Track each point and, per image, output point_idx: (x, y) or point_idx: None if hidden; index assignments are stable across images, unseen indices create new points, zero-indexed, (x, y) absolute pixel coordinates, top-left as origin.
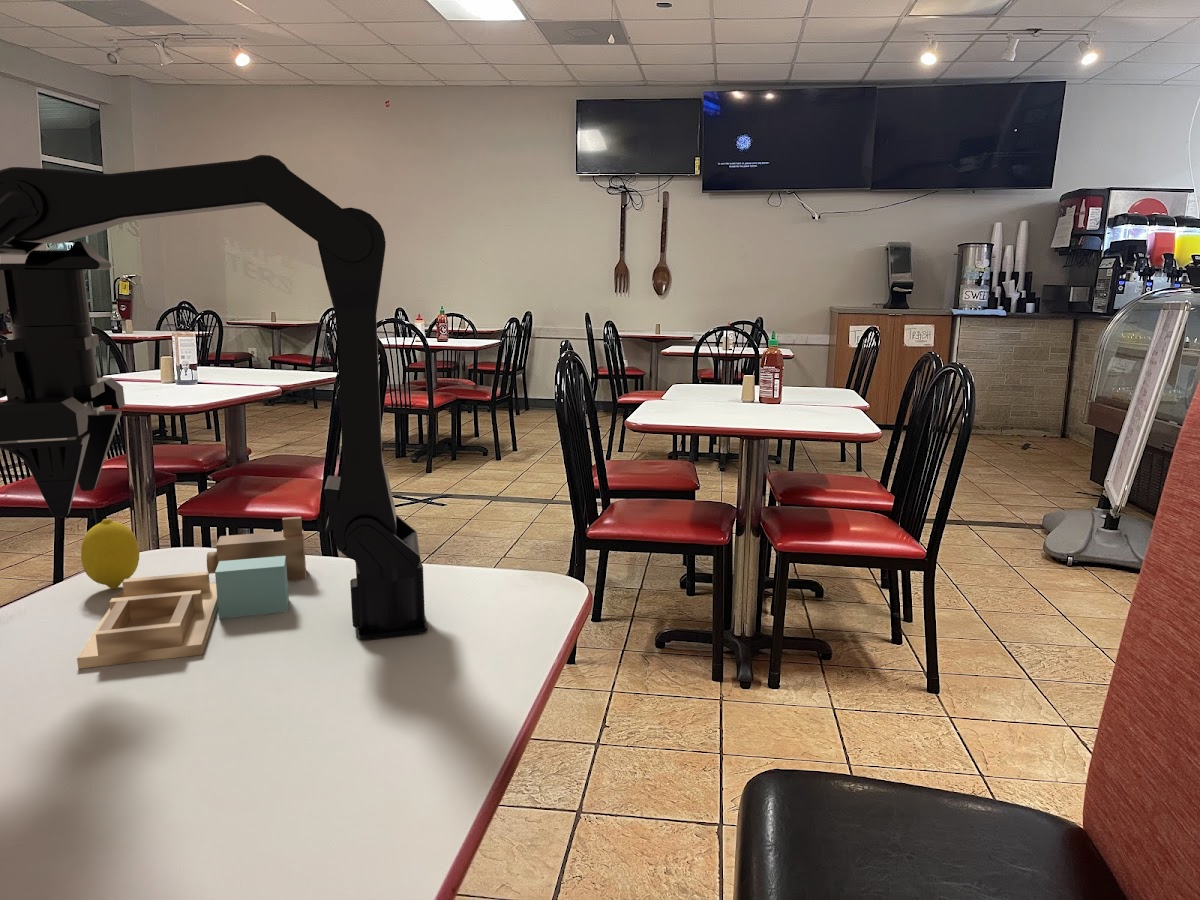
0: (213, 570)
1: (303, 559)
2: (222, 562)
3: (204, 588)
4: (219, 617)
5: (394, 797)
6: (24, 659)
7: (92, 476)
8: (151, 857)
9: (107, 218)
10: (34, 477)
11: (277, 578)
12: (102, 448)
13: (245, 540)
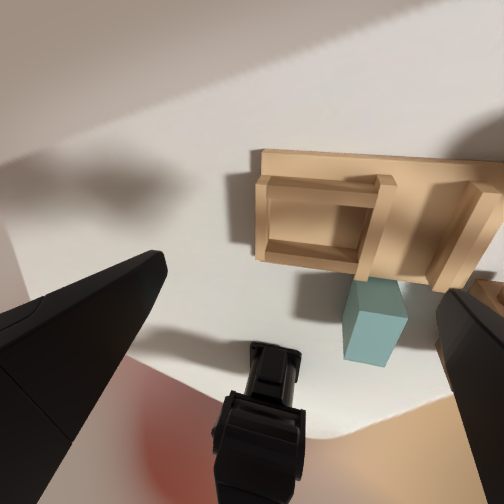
0: (501, 289)
1: (442, 365)
2: (399, 320)
3: (427, 274)
4: None
5: None
6: (321, 67)
7: (450, 349)
8: (24, 228)
9: None
10: (21, 306)
11: (344, 343)
12: (490, 487)
13: None
